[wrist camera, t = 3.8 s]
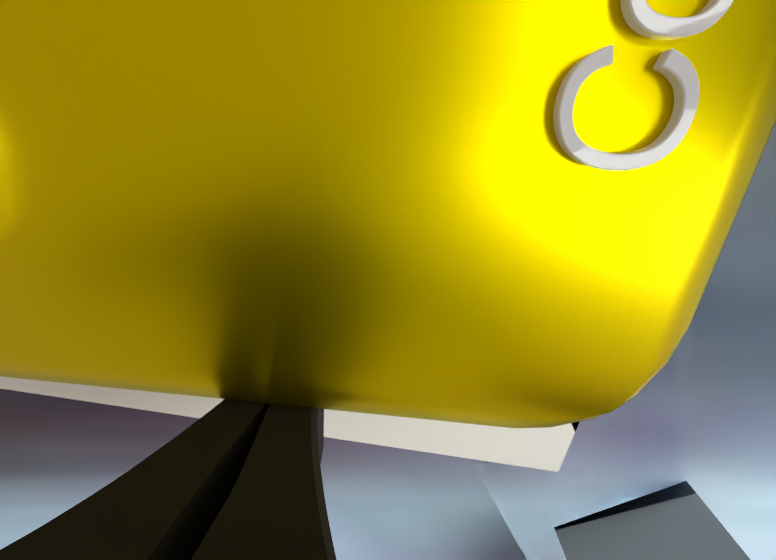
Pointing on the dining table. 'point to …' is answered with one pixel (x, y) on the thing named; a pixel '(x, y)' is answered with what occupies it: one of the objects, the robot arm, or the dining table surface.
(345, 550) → the dining table surface
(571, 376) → the element tile
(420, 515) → the dining table surface
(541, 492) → the dining table surface
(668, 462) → the dining table surface
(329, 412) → the letter
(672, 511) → the cube
